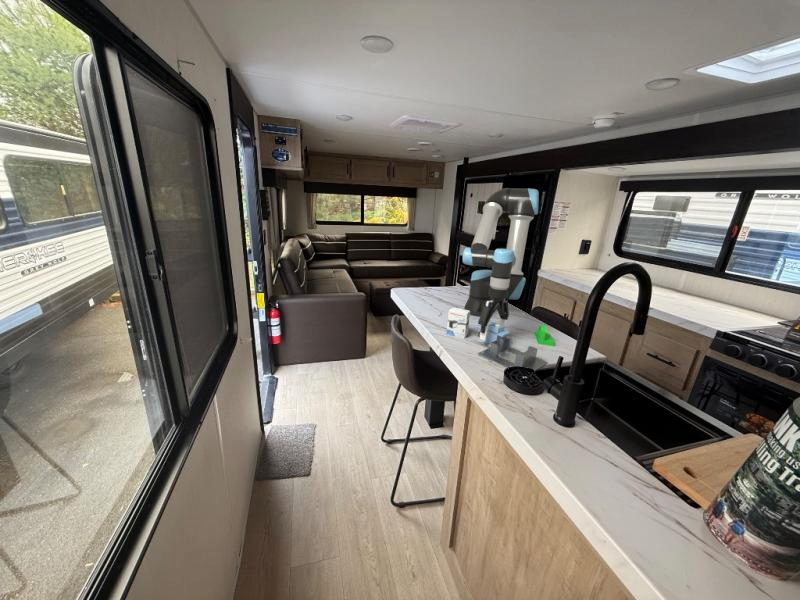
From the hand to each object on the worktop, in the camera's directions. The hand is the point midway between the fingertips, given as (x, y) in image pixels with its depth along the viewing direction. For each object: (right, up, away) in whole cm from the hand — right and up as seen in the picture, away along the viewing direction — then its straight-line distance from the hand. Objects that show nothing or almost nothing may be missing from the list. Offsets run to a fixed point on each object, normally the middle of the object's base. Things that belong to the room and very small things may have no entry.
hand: (491, 336), depth 131 cm
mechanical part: (+25, -3, +6) cm, 26 cm away
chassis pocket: (+4, -7, -14) cm, 16 cm away
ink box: (-14, 0, +6) cm, 15 cm away
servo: (0, -2, +1) cm, 3 cm away
